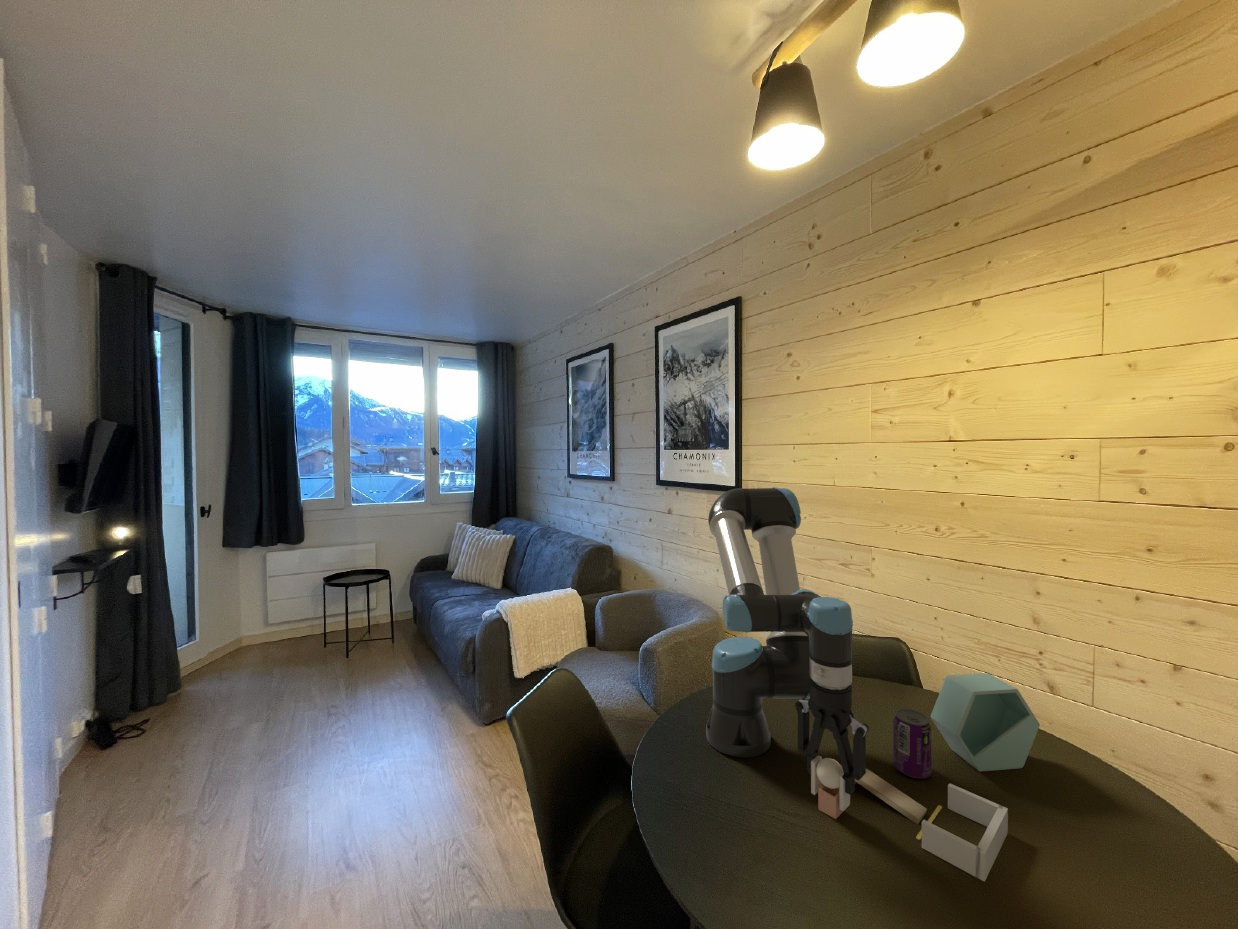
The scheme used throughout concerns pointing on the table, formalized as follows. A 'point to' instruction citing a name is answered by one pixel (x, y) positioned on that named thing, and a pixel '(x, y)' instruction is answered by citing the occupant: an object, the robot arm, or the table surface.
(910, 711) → the beverage can
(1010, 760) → the hexagonal wall shelf
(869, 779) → the ramp
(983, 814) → the fence
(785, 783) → the table surface
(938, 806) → the line
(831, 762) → the ball
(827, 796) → the salmon pink box
